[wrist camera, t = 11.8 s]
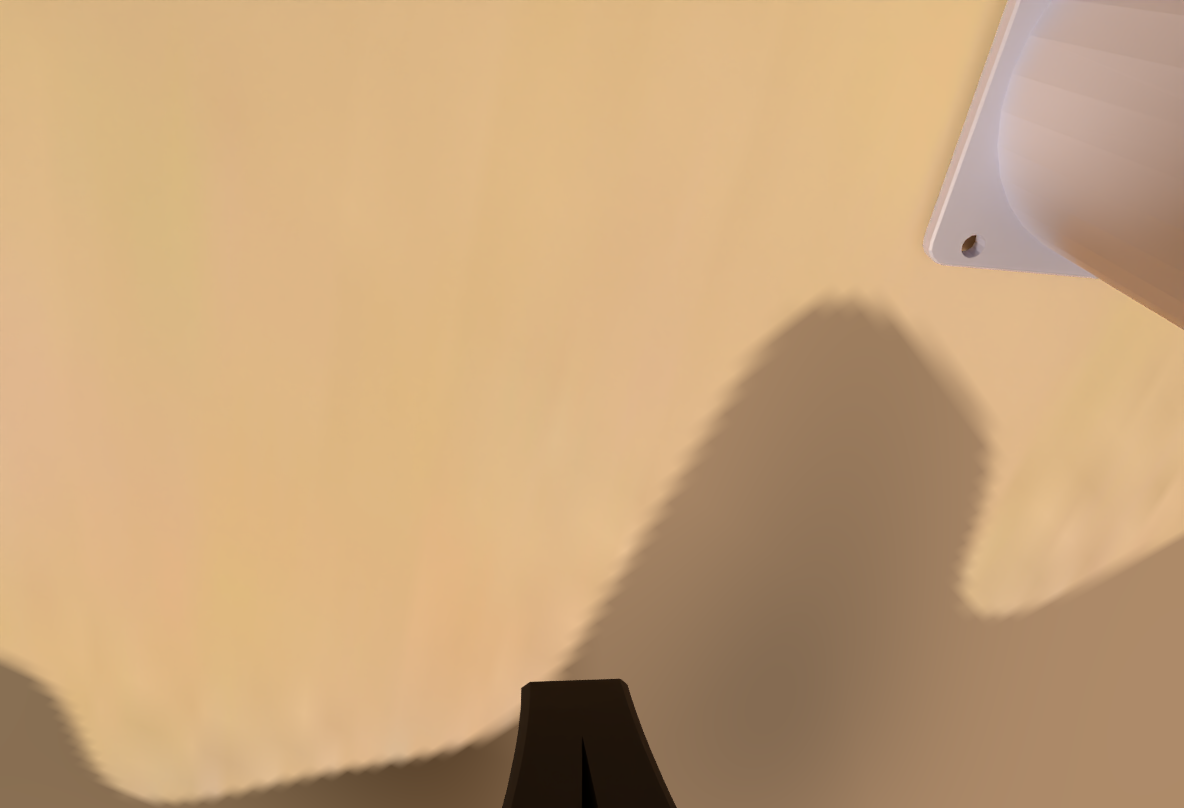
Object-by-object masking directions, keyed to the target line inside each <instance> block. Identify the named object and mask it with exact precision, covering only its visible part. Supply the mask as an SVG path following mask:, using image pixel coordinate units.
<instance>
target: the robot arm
mask: <svg viewBox="0 0 1184 808" xmlns="http://www.w3.org/2000/svg"><path fill="white" fill-rule="evenodd" d="M973 235H976V241H975V243H974V244H973V246H972V247H971V248H969V249H968V250H966V251H962V245H963V243H964V242H965V240H966V239H968V238H969V237H971V236H973ZM923 248H924V252H925V254H926V255H927V256H928V257H929V258H930V259H932V260H933V261H934V262H935V263H938V264H941V265H947V266H958V267H970V268H981V269H993V270H1004V271H1016V272H1027V273H1039V274H1050V275H1062V276H1073V277H1085V278H1096V279H1101V280H1102V281H1104V282H1106V283H1107V284H1109V285H1111V286H1112V287H1114V288H1116V289H1117V290H1119V291H1121V292H1122V293H1124V294H1126V295H1127V296H1129V297H1131V298H1132V299H1134V300H1135V301H1137V302H1139V303H1140V304H1142V305H1144V306H1145V307H1147V308H1149V309H1150V310H1152V311H1154V312H1155V313H1157V314H1159V315H1160V316H1162V317H1164V318H1165V319H1167V320H1169V321H1170V322H1172V323H1173V324H1175V325H1177V326H1178V327H1180V328H1182V329H1183V330H1184V0H1008V1H1007V4H1006V6H1005V9H1004V12H1003V15H1002V18H1001V21H1000V23H999V26H998V29H997V32H996V35H995V38H994V40H993V43H992V46H991V49H990V52H989V55H988V57H987V60H986V63H985V66H984V69H983V72H982V74H981V77H980V80H979V83H978V86H977V89H976V91H975V94H974V97H973V100H972V103H971V106H970V108H969V111H968V114H967V117H966V120H965V123H964V125H963V128H962V131H961V134H960V137H959V140H958V142H957V145H956V148H955V151H954V154H953V157H952V159H951V162H950V165H949V168H948V171H947V173H946V176H945V179H944V182H943V185H942V188H941V190H940V193H939V196H938V199H937V202H936V205H935V207H934V210H933V213H932V216H931V219H930V222H929V224H928V227H927V230H926V233H925V236H924V240H923ZM502 808H677V807H676V805H675V803H674V801H673V799H672V797H671V795H670V793H669V791H668V788H667V786H666V784H665V782H664V780H663V777H662V775H661V773H660V771H659V768H658V766H657V764H656V761H655V759H654V757H653V754H652V752H651V750H650V747H649V745H648V742H647V740H646V737H645V735H644V732H643V729H642V727H641V724H640V721H639V719H638V716H637V713H636V710H635V707H634V704H633V701H632V698H631V695H630V692H629V688H628V685H627V684H626V683H625V682H624V681H622V680H621V679H603V680H602V679H601V680H573V681H544V682H529V683H528V684H527V685H525V686H524V687H522V688H521V712H520V721H519V730H518V736H517V743H516V749H515V754H514V759H513V763H512V768H511V773H510V778H509V783H508V787H507V792H506V795H505V799H504V803H503V806H502Z"/></svg>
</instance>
